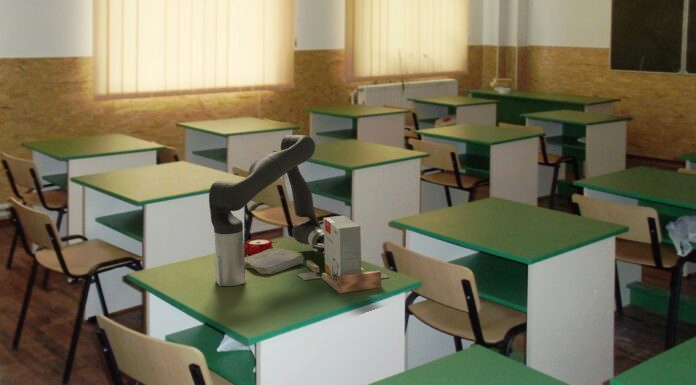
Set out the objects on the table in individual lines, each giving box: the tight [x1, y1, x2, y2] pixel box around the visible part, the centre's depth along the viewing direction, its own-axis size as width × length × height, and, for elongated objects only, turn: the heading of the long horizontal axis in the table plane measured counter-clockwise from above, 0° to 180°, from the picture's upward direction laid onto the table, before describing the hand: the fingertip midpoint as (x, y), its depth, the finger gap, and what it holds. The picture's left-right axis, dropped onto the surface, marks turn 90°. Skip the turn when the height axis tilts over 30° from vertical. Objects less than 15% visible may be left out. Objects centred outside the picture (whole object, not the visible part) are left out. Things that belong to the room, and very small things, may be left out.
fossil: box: [244, 247, 305, 275], centre depth 287 cm, size 20×5×17 cm
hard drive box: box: [322, 215, 362, 282], centre depth 264 cm, size 16×8×20 cm, turn 20°
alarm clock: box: [244, 237, 276, 256], centre depth 302 cm, size 10×6×15 cm
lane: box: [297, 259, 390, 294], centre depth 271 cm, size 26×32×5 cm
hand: (339, 253), depth 273 cm, fingers closed
